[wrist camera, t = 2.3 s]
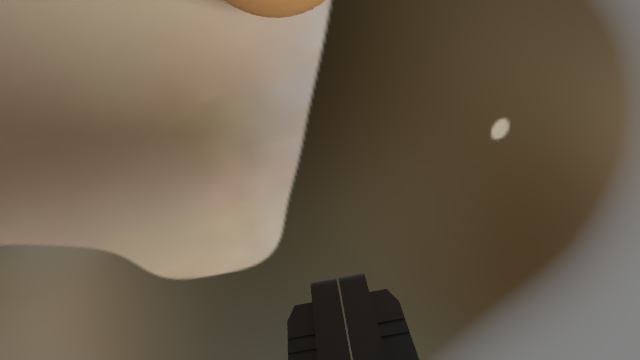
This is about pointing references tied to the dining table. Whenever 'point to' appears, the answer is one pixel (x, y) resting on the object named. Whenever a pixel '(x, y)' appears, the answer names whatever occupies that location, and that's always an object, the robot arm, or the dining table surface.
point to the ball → (275, 7)
